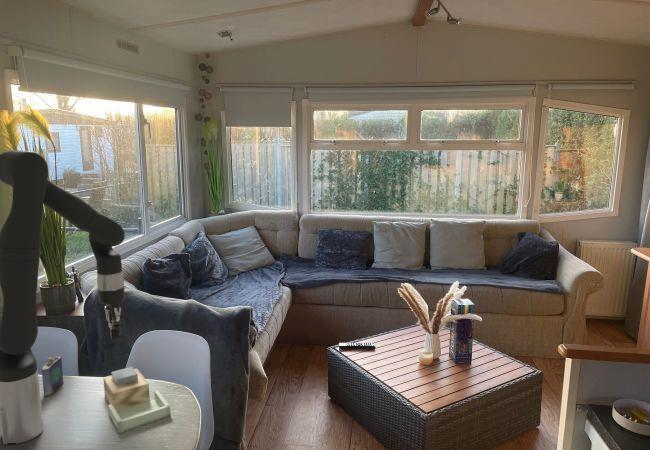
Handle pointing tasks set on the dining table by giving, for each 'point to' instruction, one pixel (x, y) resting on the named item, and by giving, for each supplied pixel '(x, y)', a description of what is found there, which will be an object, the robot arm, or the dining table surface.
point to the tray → (140, 413)
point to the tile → (124, 376)
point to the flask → (52, 375)
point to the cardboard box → (126, 392)
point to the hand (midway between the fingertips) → (115, 338)
